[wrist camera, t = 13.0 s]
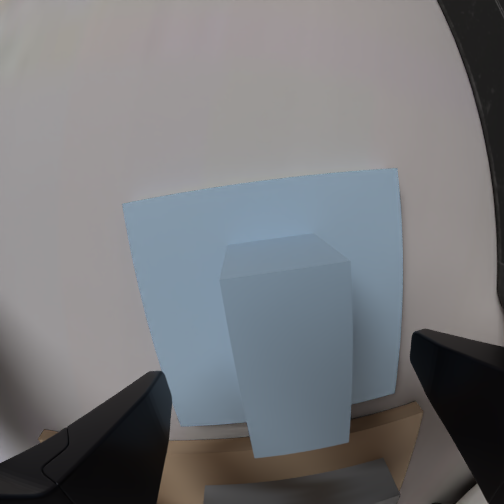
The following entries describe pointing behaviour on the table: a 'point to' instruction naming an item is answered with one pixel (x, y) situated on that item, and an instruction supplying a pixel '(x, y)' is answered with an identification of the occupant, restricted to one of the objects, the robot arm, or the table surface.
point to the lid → (274, 301)
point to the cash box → (485, 87)
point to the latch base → (295, 467)
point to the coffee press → (472, 497)
